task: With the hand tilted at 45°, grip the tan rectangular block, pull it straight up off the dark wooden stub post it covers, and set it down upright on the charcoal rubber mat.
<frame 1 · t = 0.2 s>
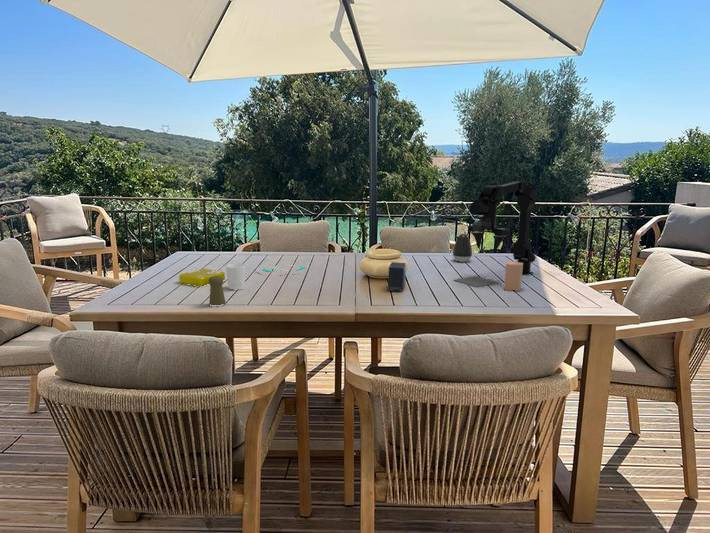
hand: (486, 249, 208), 14 cm above the table, tool pointing down, fingers open, 9 cm apart
cork: (217, 305, 174), on the table
tan rectangular block: (512, 288, 197), on the table
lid: (283, 271, 233), on the table
small box: (396, 289, 197), on the table
rubber mat: (475, 281, 209), on the table
white cup: (236, 289, 197), on the table
element tile: (202, 283, 209), on the table
dark grey rounded vessel: (461, 261, 253), on the table
stub post: (512, 288, 197), on the table
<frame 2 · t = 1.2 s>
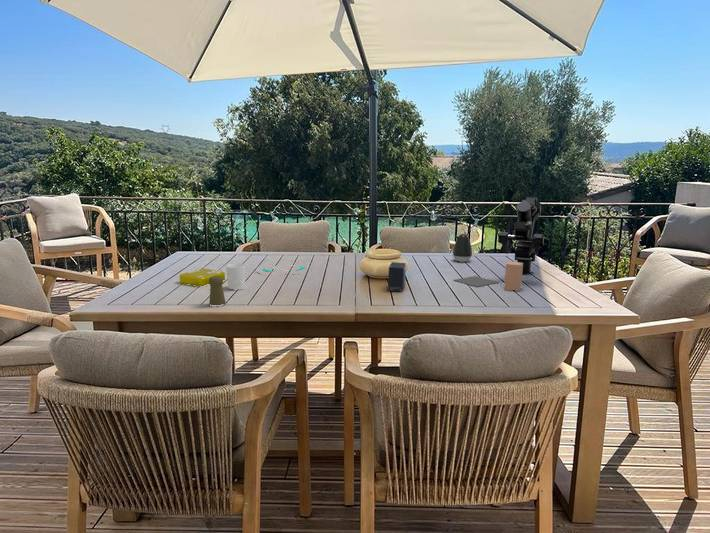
hand: (517, 254, 201), 14 cm above the table, tool tilted 45°, fingers open, 9 cm apart
nothing on the table moved.
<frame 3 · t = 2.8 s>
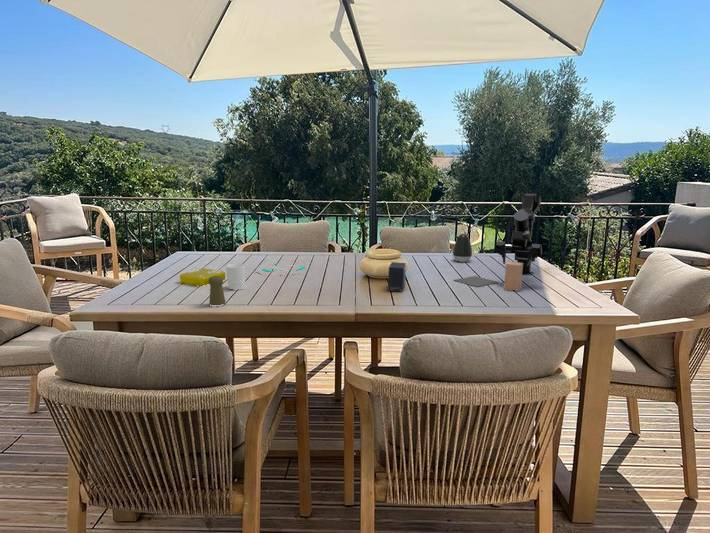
hand: (515, 264, 196), 10 cm above the table, tool tilted 45°, fingers open, 9 cm apart
nothing on the table moved.
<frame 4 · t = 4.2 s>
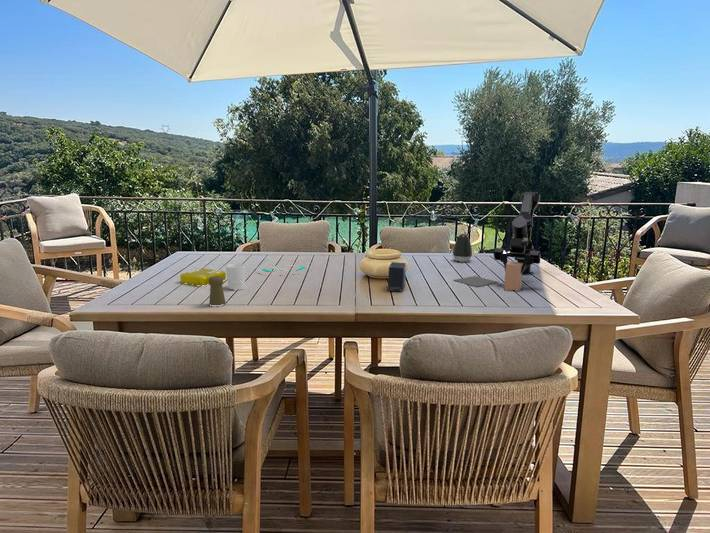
hand: (513, 272, 194), 8 cm above the table, tool tilted 45°, fingers closed on tan rectangular block, 6 cm apart
tan rectangular block: (512, 288, 197), on the table, touching gripper
everything else where it was.
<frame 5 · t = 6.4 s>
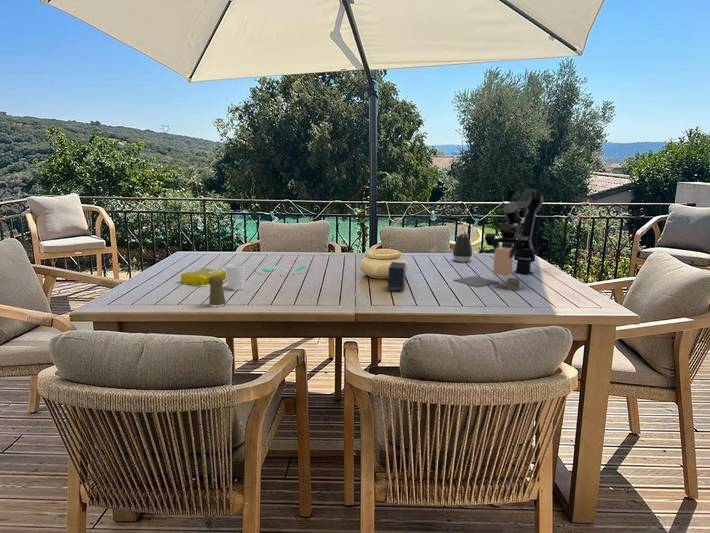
hand: (502, 256, 196), 13 cm above the table, tool tilted 45°, fingers closed on tan rectangular block, 6 cm apart
tan rectangular block: (502, 273, 198), point 6 cm above the table, touching gripper
when the fingers open (9 cm above the table, at t = 8.7 s): tan rectangular block drops 1 cm, resting on rubber mat.
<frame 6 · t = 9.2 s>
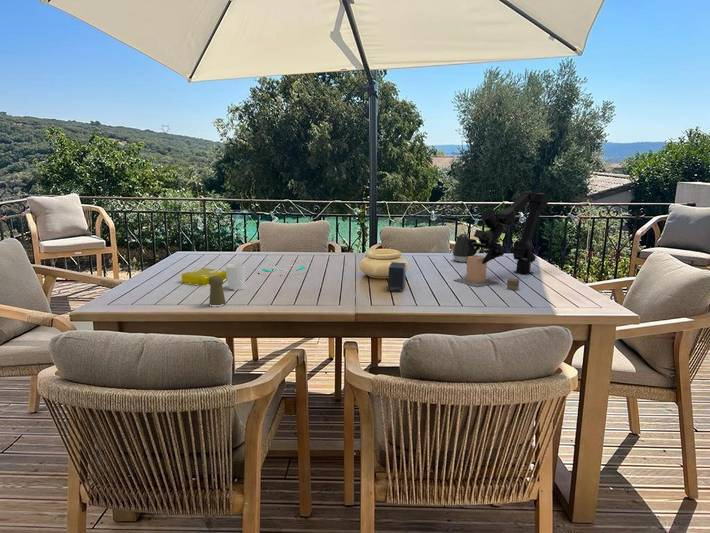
hand: (474, 261, 206), 9 cm above the table, tool tilted 45°, fingers open, 9 cm apart
tan rectangular block: (475, 280, 209), resting on rubber mat
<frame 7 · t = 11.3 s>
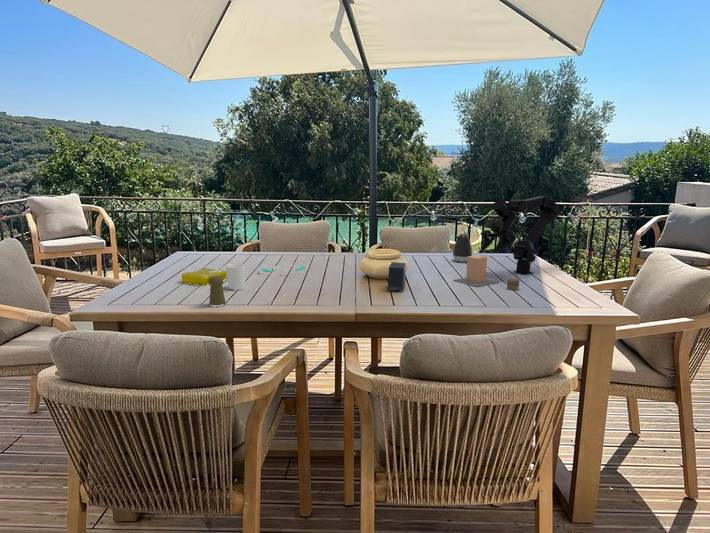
hand: (488, 250, 211), 13 cm above the table, tool tilted 40°, fingers open, 9 cm apart
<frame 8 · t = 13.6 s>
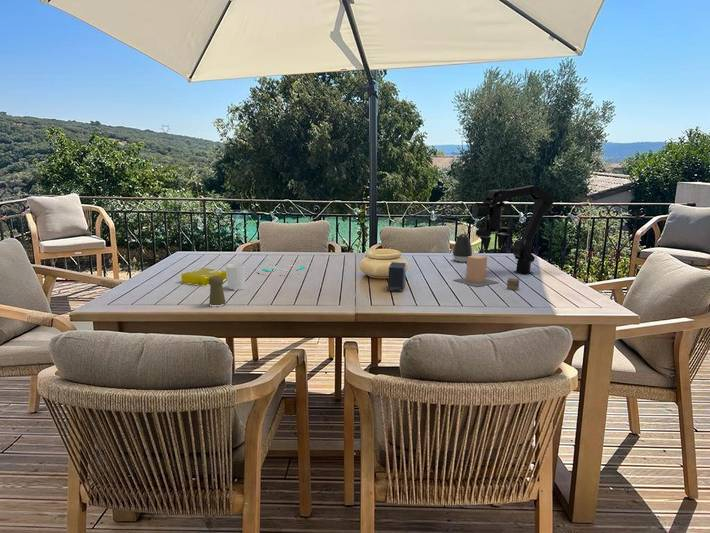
hand: (492, 249, 220), 12 cm above the table, tool pointing down, fingers open, 9 cm apart
at the end: tan rectangular block inside the target area on the rubber mat (0.0 cm from its centre), point 0.4 cm above the rubber mat's base; tan rectangular block tilted 0°; the gripper is holding nothing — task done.
